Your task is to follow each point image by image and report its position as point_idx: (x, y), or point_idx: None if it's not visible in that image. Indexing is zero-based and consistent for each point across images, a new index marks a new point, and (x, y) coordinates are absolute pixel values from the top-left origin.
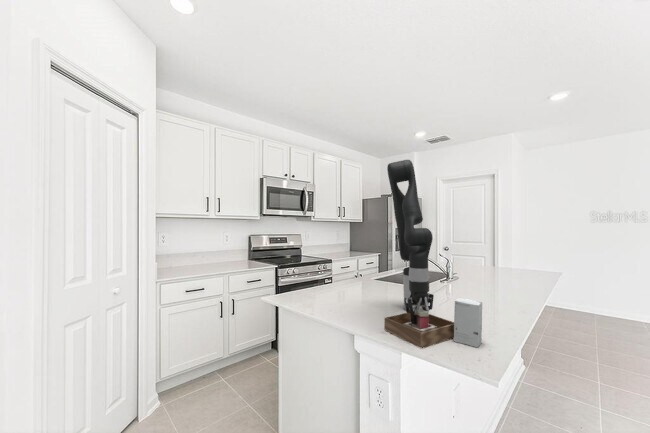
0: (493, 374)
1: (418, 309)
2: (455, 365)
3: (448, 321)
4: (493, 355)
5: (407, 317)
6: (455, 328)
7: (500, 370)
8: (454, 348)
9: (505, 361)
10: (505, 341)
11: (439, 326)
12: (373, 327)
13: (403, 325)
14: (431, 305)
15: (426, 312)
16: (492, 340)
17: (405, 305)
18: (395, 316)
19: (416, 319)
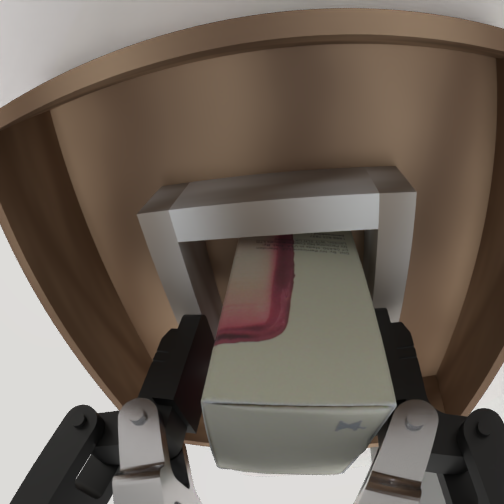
0: (262, 474)
1: (310, 431)
2: (205, 446)
3: (464, 406)
4: (364, 455)
5: (343, 40)
6: (372, 459)
7: (294, 474)
8: None
9: (352, 467)
10: (499, 415)
11: (472, 304)
12: (9, 28)
13: (72, 348)
14: (461, 489)
15: (311, 473)
16: (487, 408)
17: (30, 475)
18: (78, 89)
19: (200, 391)
